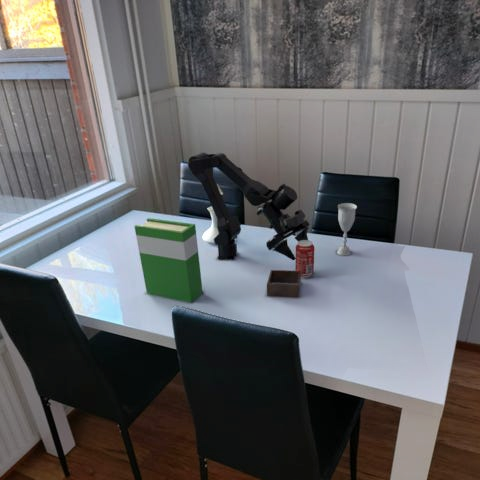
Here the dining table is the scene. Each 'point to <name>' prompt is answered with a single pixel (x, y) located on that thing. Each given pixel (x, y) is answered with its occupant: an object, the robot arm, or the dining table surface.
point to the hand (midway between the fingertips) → (302, 254)
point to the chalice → (346, 223)
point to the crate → (284, 289)
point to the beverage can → (305, 258)
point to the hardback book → (170, 259)
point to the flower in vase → (213, 230)
